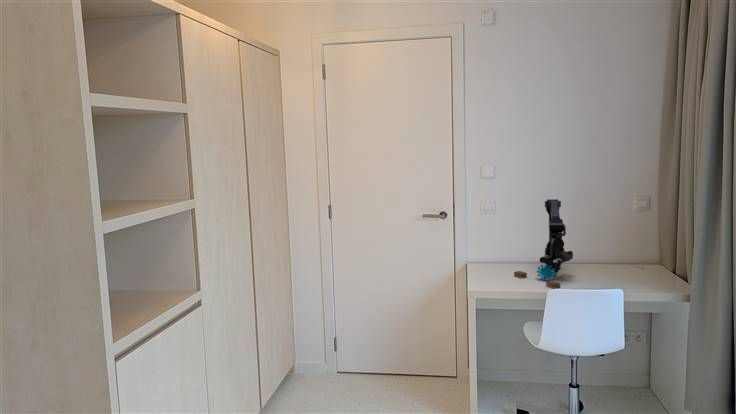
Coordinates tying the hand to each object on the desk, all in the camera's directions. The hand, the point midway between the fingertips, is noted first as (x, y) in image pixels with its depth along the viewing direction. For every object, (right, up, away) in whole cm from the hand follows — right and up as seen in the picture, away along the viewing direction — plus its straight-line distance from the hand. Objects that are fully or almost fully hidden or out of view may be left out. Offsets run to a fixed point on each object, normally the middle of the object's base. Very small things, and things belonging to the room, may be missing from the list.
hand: (556, 273), depth 292 cm
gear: (-6, -3, -2) cm, 7 cm away
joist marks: (-12, -3, -6) cm, 14 cm away
